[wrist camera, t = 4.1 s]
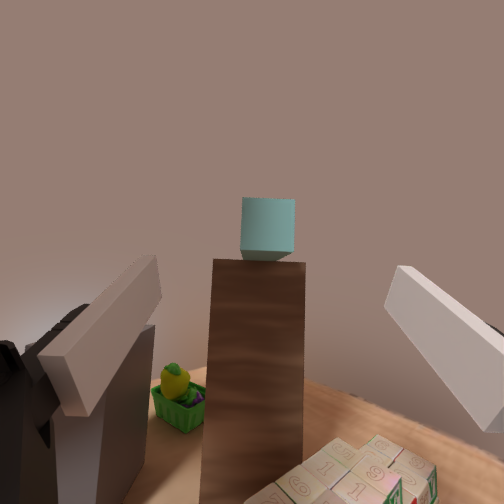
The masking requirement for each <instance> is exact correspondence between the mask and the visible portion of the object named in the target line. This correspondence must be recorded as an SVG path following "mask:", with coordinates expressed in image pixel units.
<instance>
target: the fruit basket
mask: <svg viewBox="0 0 504 504" xmlns="http://www.w3.org/2000/svg"><path fill="white" fill-rule="evenodd" d="M205 392H206V388H204V387H202V386H200V385H197V384H195V383H193V382H190V375H189V373H188V372H187V371H185V370H184V369H182V368H180V367H179V366H178V364H176V363H171V364H169V365H168V366H165V367H164V369H163V371H162V372H161V385H158V386H156V387H154V388H152V389H151V393H152V396H153V400H154V405H155V410H156V415H157V416H158V417H160V418H163V420H165V421H166V422H168V423H171V424H172V425H173V426H174V427H176V428H178V429H180V430H181V431H182V432H184V433H185V434H186V433H188V432H189V431H190V430H192V429H194V428H195V427H197V426H198V425H200V424H201V423H202V422H204V410H205Z"/></svg>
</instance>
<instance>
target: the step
mask: <svg viewBox="0 0 504 504" xmlns="http://www.w3.org/2000/svg"><path fill="white" fill-rule="evenodd" d="M154 335H155V325H145V326H144V328H143V329H142V331H141V333H140V334H139V336H138V338H137V339H136V341H135V342H134V344H133V346H132V347H131V349H130V350H129V352H128V354H127V355H126V357H125V359H124V360H123V362H122V363H121V365H120V367H119V368H118V370H117V372H116V373H115V375H114V376H113V378H112V380H111V381H110V383H109V385H108V386H107V388H106V389H105V391H104V393H103V394H102V396H101V398H100V399H99V401H98V402H97V404H96V406H95V407H94V409H93V411H92V412H91V414H90V415H89V417H83V416H65V414H64V412H63V410H62V407H61V405H59V407H58V408H57V409H56V411H55V412H54V413H53V415H52V416H51V417H52V419H53V421H54V431H55V449H56V467H57V485H58V503H59V504H121V503H122V501H123V499H124V498H125V496H126V494H127V492H128V490H129V489H130V487H131V485H132V483H133V481H134V480H135V478H136V476H137V474H138V472H139V471H140V469H141V467H142V465H143V463H144V458H145V446H146V434H147V421H148V409H149V397H150V384H151V371H152V359H153V347H154ZM35 343H36V342H35ZM35 343H32V344H28V345H26V346H25V352H26V351H27V350H28V349H29V348H30V347H31V346H32V345H34V344H35Z"/></svg>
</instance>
